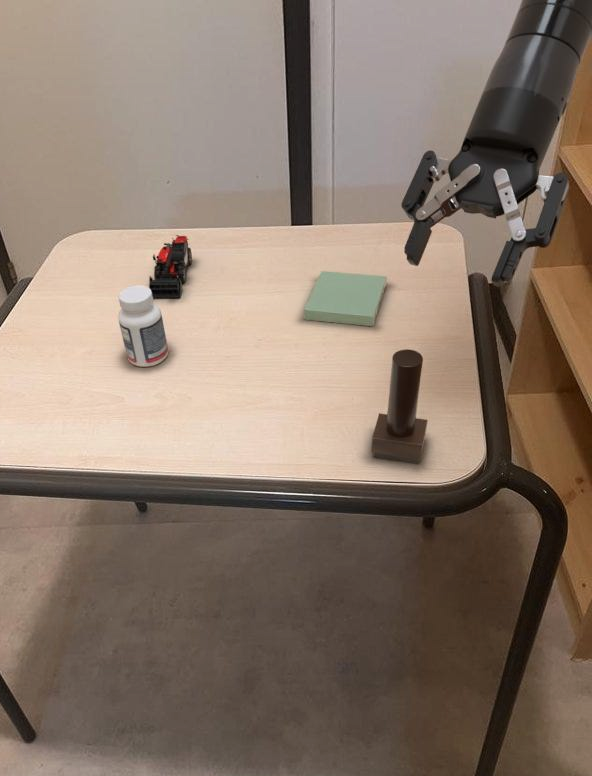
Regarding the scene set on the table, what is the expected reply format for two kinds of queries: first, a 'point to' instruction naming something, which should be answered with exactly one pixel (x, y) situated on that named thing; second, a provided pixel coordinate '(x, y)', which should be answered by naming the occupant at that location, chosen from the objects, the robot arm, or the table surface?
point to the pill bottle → (142, 327)
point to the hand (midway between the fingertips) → (452, 273)
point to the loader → (171, 268)
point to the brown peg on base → (401, 412)
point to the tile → (345, 298)
